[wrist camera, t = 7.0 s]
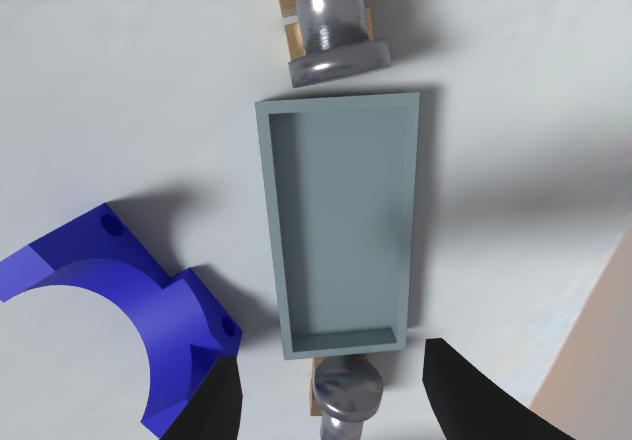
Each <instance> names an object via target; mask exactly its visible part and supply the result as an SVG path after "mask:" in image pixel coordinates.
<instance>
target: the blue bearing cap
mask: <svg viewBox="0 0 632 440" xmlns="http://www.w3.org/2000/svg"><path fill="white" fill-rule="evenodd" d="M49 285H70V286H76V287H81V288H85V289H88V290H91V291H93V292H96V293H98V294H100V295H102V296H104V297H105V298H107V299H109V300H110V301H112V302H113V303H114V304H116V305H117V306H118V307H119V308H120V309H121V310H122V311H123V312H124V313H125V314H126V315H127V316H128V317H129V318H130V319H131V321H132V322H133V324H134V325H135V327H136V328H137V330H138V332H139V333H140V335H141V338H142V340H143V342H144V345H145V348H146V351H147V354H148V359H149V365H150V391H149V398H148V402H147V406H146V409H145V412H144V415H143V417H142V420H141V423H142V424H143V425H144V426H145V427H146V428H148V429H149V430H150V431H151V432H152V433H153V434H154V435H156V436H157V437H158V438H160V437H161V436H162V435H163V434H164V433H165V432H166V430H167V429H168V428H169V426H170V425H171V424H172V423H173V421H174V420H175V419H176V418H177V416H178V415H179V414H180V412H181V411H182V410H183V408H184V407H185V406H186V404H187V403H188V401H189V400H190V399H191V397H192V396H193V394H194V393H195V392H196V390H197V389H198V387H199V386H200V384H201V383H202V381H203V380H204V378H205V377H206V375H207V374H208V372H209V371H210V369H211V368H212V366H213V364H214V363H215V361H216V360H217V358H218V357H221V356H233V355H236V359H237V354H238V350H239V345H240V341H241V336H242V332H243V331H242V330H241V329H240V328H239V326H238V325H237V324H236V323H235V322H234V320H233V319H232V318H231V317H230V316H229V314H228V313H227V312H226V311H225V310H224V308H223V307H222V306H221V305H220V303H219V302H218V301H217V300H216V299H215V297H214V296H213V295H212V294H211V293H210V291H209V290H208V289H207V288H206V287H205V285H204V284H203V283H202V282H201V281H200V279H199V278H198V277H197V276H196V275H195V273H194V272H193V271H192V270H191V269H190V267H189V268H188V269H186V270H184V271H182V272H181V273H179V274H177V275H175V276H174V277H172V278H170V277H169V276H168V275H167V273H166V272H165V271H164V270H163V269H162V268H161V266H160V265H159V264H158V263H157V262H156V261H155V260H154V258H153V257H152V256H151V255H150V254H149V253H148V252H147V250H146V249H145V248H144V247H143V246H142V245H141V244H140V242H139V241H138V240H137V239H136V238H135V237H134V235H133V234H132V233H131V232H130V231H129V230H128V229H127V227H126V226H125V225H124V224H123V223H122V222H121V221H120V219H119V218H118V217H117V216H116V215H115V214H114V213H113V211H112V210H111V209H110V208H109V207H108V206H107V204H106V203H103V204H101V205H100V206H98V207H96V208H94V209H92V210H90V211H89V212H87V213H85V214H83V215H81V216H79V217H78V218H76V219H74V220H72V221H70V222H68V223H67V224H65V225H63V226H61V227H59V228H57V229H56V230H54V231H52V232H50V233H48V234H46V235H45V236H43V237H41V238H39V239H37V240H35V241H34V242H32V243H30V244H28V245H26V246H25V247H23V248H22V249H20V250H18V251H17V252H15V253H14V254H12V255H11V256H9V257H7V258H6V259H4V260H3V261H1V262H0V300H1V301H2V302H6V301H7V300H9V299H11V298H12V297H14V296H16V295H18V294H20V293H22V292H25V291H28V290H30V289H34V288H38V287H42V286H49Z"/></svg>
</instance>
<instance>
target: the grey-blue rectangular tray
mask: <svg viewBox="0 0 632 440" xmlns="http://www.w3.org/2000/svg"><path fill="white" fill-rule="evenodd" d="M419 100H420V92H413V93H396V94H379V95H362V96H345V97H328V98H311V99H294V100H276V101H259V102H255V109H256V118H257V127H258V135H259V144H260V153H261V161H262V170H263V179H264V188H265V196H266V205H267V214H268V222H269V231H270V240H271V248H272V257H273V266H274V275H275V283H276V292H277V301H278V309H279V318H280V327H281V336H282V344H283V353H284V360H294V359H305V358H316V357H327V356H338V355H349V354H360V353H371V352H382V351H394V350H405V349H406V333H407V316H408V298H409V280H410V262H411V244H412V226H413V208H414V190H415V172H416V154H417V136H418V118H419Z"/></svg>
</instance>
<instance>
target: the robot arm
mask: <svg viewBox="0 0 632 440" xmlns="http://www.w3.org/2000/svg"><path fill="white" fill-rule="evenodd" d="M422 381H423V384H424V387H425V390H426V393H427V396H428V399H429V401H430V404H431V407H432V409H433V412H434V414H435V416H436V418H437V420H438V422H439V424H440V426H441V429H442V431H443V433H444V435H445V437H446V439H447V440H575V439H574V438H572V437H570V436H569V435H567V434H566V433H564V432H562V431H561V430H559V429H558V428H556V427H554V426H553V425H551V424H550V423H548V422H547V421H545V420H544V419H542V418H541V417H539V416H538V415H536V414H535V413H533V412H532V411H531V410H529V409H528V408H526V407H525V406H523V405H522V404H521V403H519V402H518V401H517V400H515V399H514V398H513V397H511V396H510V395H509V394H507V393H506V392H505V391H503V390H502V389H501V388H500V387H498V386H497V385H496V384H495V383H493V382H492V381H491V380H490V379H488V378H487V377H486V376H485V375H484V374H482V373H481V372H480V371H479V370H478V369H476V368H475V367H474V366H473V365H472V364H471V363H470V362H468V361H467V360H466V359H465V358H464V357H463V356H462V355H460V354H459V353H458V352H457V351H456V350H455V349H454V348H453V347H451V346H450V345H449V344H448V343H447V342H446V341H445V340H443V339H442V338H435V339H426V344H425V355H424V366H423V378H422ZM242 399H243V395H242V389H241V383H240V377H239V372H238V366H237V360H236V355H233V356H221V357H218V358H217V360H216V361H215V363H214V364H213V366H212V368H211V369H210V371H209V372H208V374H207V375H206V377H205V378H204V380H203V381H202V383H201V384H200V386H199V387H198V389H197V390H196V392H195V393H194V394H193V396H192V397H191V399H190V400H189V401H188V403H187V404H186V406H185V407H184V408H183V410H182V411H181V412H180V414H179V415H178V416H177V418H176V419H175V420H174V421H173V423H172V424H171V425H170V426H169V428H168V429H167V430H166V432H165V433H164V434H163V435H162V436H161V438H160V439H159V440H237V436H238V431H239V426H240V418H241V409H242Z"/></svg>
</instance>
